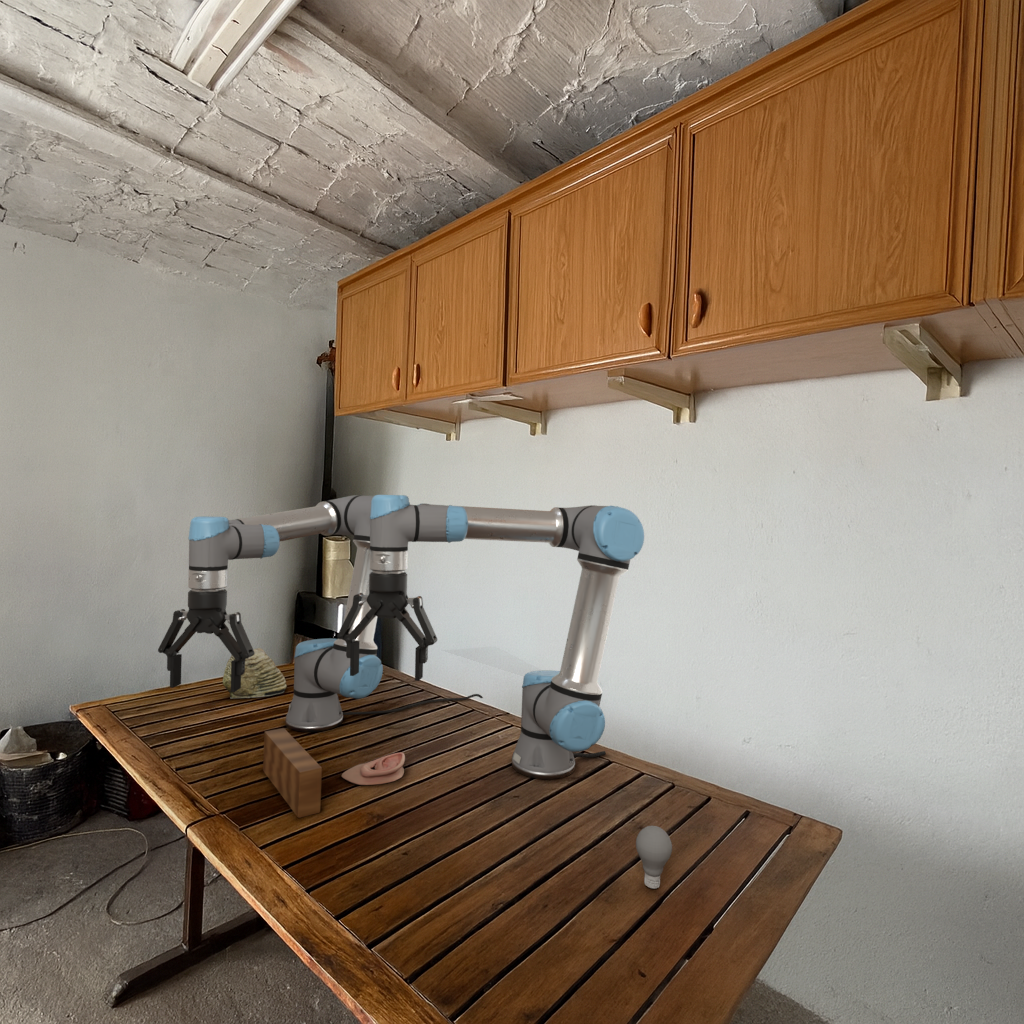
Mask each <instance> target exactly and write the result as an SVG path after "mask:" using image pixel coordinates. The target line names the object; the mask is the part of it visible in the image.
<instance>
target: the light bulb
mask: <svg viewBox="0 0 1024 1024" xmlns="http://www.w3.org/2000/svg"><path fill="white" fill-rule="evenodd" d="M635 848H636V849H635V850H636V852H637V854H638V857H639V858H640V860H641V863H642V869H643V872H644V879H643V880H644V885H645V886H647V887H648V888H650V889H658V888H660V886H661V875H662V874H663V871H664V867H665V866H666V863H668V861H669V860H670V858H671V855H672V852H673V842H672V840H671V838H670V836H669V834H668V832H666V831H665V829H663V828H662V827H660V826H657V825H648V826H645V827H643V828H642V829H641V830H640V831H639V832H638V833H637V835H636V839H635Z"/></svg>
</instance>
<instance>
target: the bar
mask: <svg viewBox="0 0 1024 1024" xmlns="http://www.w3.org/2000/svg"><path fill="white" fill-rule="evenodd" d="M262 760H263V761H262V763H263V765H262V771H263V773H264V775H266V777H267V778H268V779H269V781H270V782H271V784H272V785H273V786H274V788H275V789H276V791H278V793H279V795H280V796H282V798H283V800H284V801H285V802H286V803H287V805H288V807H289V808H290V809H291V810H292V812H293V813H294V815H295V816H296V817H297V818H298V819H301V818H304V817H309V816H312V815H316V814H320V813H321V802H322V801H321V799H322V779H323V778H322V776H323V775H322V773H323V767H322V766H321V765H320V764H319V763H318V761H316V760H315V759H314V758H313V757H312V756H311V754H309V752H308V751H307V750H306V749H304V747H303V746H302V744H300V743H299V742H298V741H297V740H296V739H295V737H293V736H292V735H291V733H290V732H288V730H286V728H285V727H282V728H275V729H271V730H270V729H269V730H266V731H265V730H264V736H263V759H262Z"/></svg>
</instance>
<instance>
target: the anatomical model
mask: <svg viewBox="0 0 1024 1024" xmlns="http://www.w3.org/2000/svg"><path fill="white" fill-rule="evenodd" d="M405 761H406V755H405V752H401V751H400V752H394V753H390V754H387V755H384V756H381V757H378V758H376V759H373V760H371V761H368V762H364V763H359V764H356V765H354V766H352V767H350V768H348V769H347V770H345V771H343V773H342V774H341V778H342V779H344V780H346V781H347V782H349V783H352V784H355V785H359V786H370V785H383V784H387V783H392V782H395V781H397V780H399V779H401V778H402V777H403V776H404V773H405V769H404V767H403V766H404V764H405Z"/></svg>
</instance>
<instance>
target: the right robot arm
mask: <svg viewBox="0 0 1024 1024" xmlns="http://www.w3.org/2000/svg"><path fill="white" fill-rule="evenodd" d="M373 496H374V497H373V498H372V501H371V516H370V567H369V568H370V569H371V570H372V571H373V572H371V573H370V574H369V595H368V596H367V595H363V593H359V594H356V595H354V597H353V604H352V607H351V609H350V611H349V613H348V615H347V617H346V619H345V621H344V620H343V623H342V624H341V627H340V629H339V631H338V633H337V635H336V637H337V639H342V640H344V641H346V656H347V658H350V676H354V675H356V674H357V673H359V642H360V641H355V640H356V639H357V637H358V636H359V635H360V634H361V632H362V631H363V630H364V629H365V628H366V627H367V625H368V624H369V623H370V622H371V621H372V620H373V619H374V618H375V617H376V616H377V619H385V618H386V619H390V620H394V619H397V620H398V621H399V622H400V623H401V624H402V625H403V626H404V628H405V629H406V630H407V632H408V633H409V634H410V636H411V637H412V638H413V640H414V641H415V642H416V644H417V646H416V647H415V651H414V652H415V656H414V657H415V658H414V659H415V660H414V681H415V682H420V680H421V679H422V678H423V677H424V664H426V663H428V659H429V646H433V645H434V644H436V643H437V642H438V637H437V634H436V632H435V630H434V627H433V625H432V624H431V621H430V619H429V617H428V614H427V612H426V610H425V608H424V600H423V597H422V596H421V595H418V596H415V597H409V596H408V573H407V572H406V571H407V570H408V565H409V564H408V562H409V561H408V559H409V558H408V557H409V555H408V553H409V543H416V542H418V543H419V542H421V543H425V542H426V543H448V544H450V543H456V542H460V543H461V542H463V541H464V540H475V541H477V540H479V541H501V542H502V541H503V542H520V543H521V542H524V543H525V542H526V543H544V544H545V543H548V544H549V546H550V547H552V548H562V549H563V548H564V549H567V550H568V549H569V550H573V551H577V552H578V554H577V559H576V561H577V562H578V564H579V565H580V567H581V571H580V577H579V581H578V586H577V590H576V595H575V599H574V605H573V609H572V613H571V618H570V623H569V627H568V633H567V638H566V642H565V646H564V651H563V656H562V661H561V667H560V670H553V669H551V670H550V669H549V670H546V669H545V670H532V671H529V672H527V673H525V674H524V676H523V678H522V679H523V681H522V686H521V688H522V690H521V691H522V694H521V720H520V734H519V737H518V739H517V741H516V745H515V748H514V750H513V753H512V757H511V766H512V768H513V770H514V771H516V773H519V774H521V775H523V776H525V777H528V778H533V779H537V780H558V779H563V778H566V777H568V776H570V775H572V774H573V773H574V772H575V768H576V767H575V766H576V759H575V758H583V759H591V758H597V757H603V756H606V755H607V752H606V750H603V751H598V752H591V753H581V752H584V751H586V750H589V749H590V748H591V747H592V746H594V745H596V744H597V743H598V742H599V741H600V739H601V737H602V736H603V733H604V731H605V727H606V717H605V714H604V711H603V710H602V708H601V707H600V706H601V700H602V696H603V689H602V687H601V686H600V684H599V677H600V672H601V666H602V663H603V659H604V658H603V657H604V653H605V648H606V643H607V638H608V634H609V628H610V625H611V619H612V615H613V612H614V611H613V610H614V605H615V601H616V596H617V591H618V587H619V582H620V577H622V576H623V575H624V574H626V573H627V572H629V567H630V563H631V560H632V559H634V558H635V557H636V556H637V555H639V553H640V552H641V551H642V549H643V546H644V543H645V529H644V525H643V523H642V522H641V520H640V518H639V517H638V515H636V514H635V513H634V512H633V511H632V510H630V509H628V508H625V507H621V506H619V505H595V504H594V505H582V506H573V507H571V506H570V507H558V506H557V507H552V508H551V509H550V510H535V509H519V508H518V509H517V508H500V507H499V508H498V507H483V506H465V505H463V506H461V505H453V504H452V505H451V504H450V505H445V504H431V503H419V504H411V502H410V498H409V496H407V495H405V494H375V495H373ZM366 601H367V603H368V604H369V606H370V607H371V609H370V610H369V612H368V613H367V614H366V615H365V617H364V618H363V619H362V620H361V621H360V623H359V624H358V625H357V626H356V627H355V628H354V630H353V631H352V632H351V633H350V634H349V631H350V629H351V627H352V625H353V623H354V621H355V619H356V617H357V615H358V614H359V612H360V610H361V607H362V605H364V604H365V602H366ZM408 605H410V608H412V609H413V612H414V614H415V616H416V619H417V622H418V624H419V625H420V628H421V629H420V628H419V626H418V625H417V624H416V622H415V621H414V620H413V618H412V617H411V616H410V613H409V612H408V610H407V609H406V607H408Z"/></svg>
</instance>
